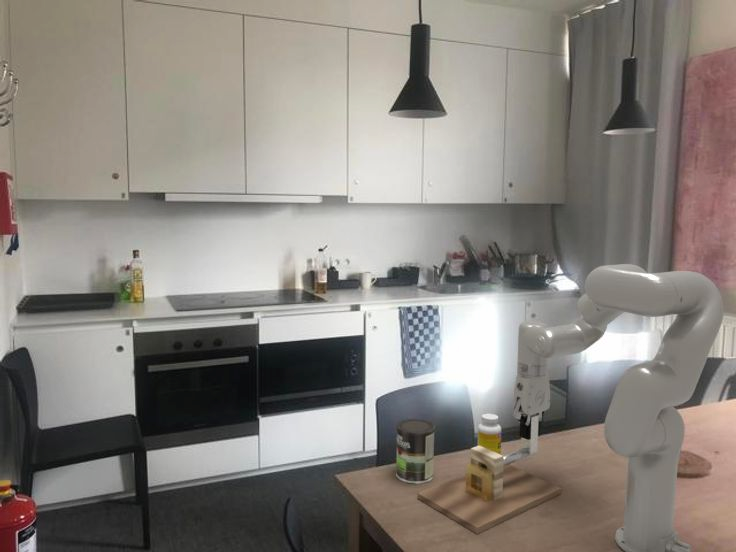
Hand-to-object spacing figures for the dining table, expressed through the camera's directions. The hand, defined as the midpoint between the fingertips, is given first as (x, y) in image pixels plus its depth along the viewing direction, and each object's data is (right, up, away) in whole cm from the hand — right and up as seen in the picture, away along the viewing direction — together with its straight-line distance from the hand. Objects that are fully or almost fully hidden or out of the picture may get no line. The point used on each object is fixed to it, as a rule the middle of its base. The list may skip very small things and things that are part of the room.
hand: (529, 435), depth 156 cm
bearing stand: (-12, -13, -8) cm, 19 cm away
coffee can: (-30, -12, +4) cm, 33 cm away
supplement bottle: (-8, -11, +14) cm, 20 cm away
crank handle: (-6, -6, -4) cm, 9 cm away
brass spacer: (-15, -12, -10) cm, 22 cm away
